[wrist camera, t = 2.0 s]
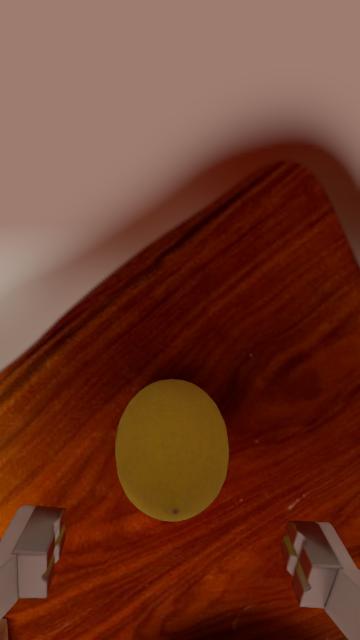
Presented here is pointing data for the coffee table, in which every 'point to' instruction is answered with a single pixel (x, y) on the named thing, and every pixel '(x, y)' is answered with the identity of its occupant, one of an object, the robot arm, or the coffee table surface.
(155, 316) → the coffee table surface
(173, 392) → the lemon
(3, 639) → the spatula
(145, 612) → the coffee table surface
